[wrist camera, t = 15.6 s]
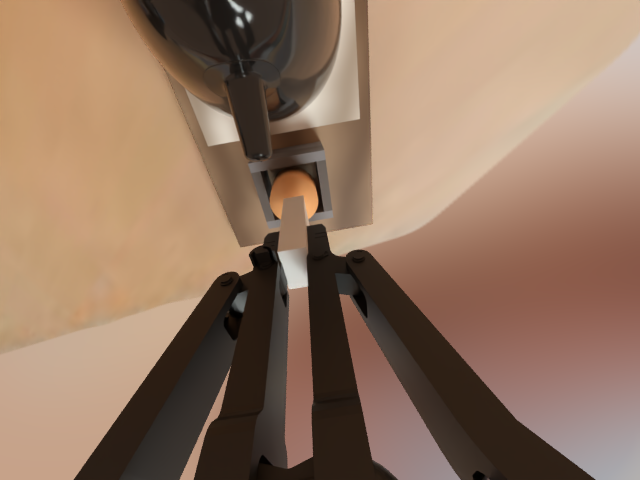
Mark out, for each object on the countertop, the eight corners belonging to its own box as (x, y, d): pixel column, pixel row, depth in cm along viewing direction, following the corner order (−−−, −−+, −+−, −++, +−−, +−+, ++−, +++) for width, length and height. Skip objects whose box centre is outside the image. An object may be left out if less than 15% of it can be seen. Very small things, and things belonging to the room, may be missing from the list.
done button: (278, 211, 23) (276, 226, 21) (267, 171, 21) (263, 183, 18) (318, 204, 23) (321, 218, 21) (311, 163, 21) (314, 174, 18)
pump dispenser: (221, 126, 21) (108, 196, 8) (160, -55, 15) (-607, -840, 2) (336, 108, 21) (403, 150, 8) (322, -80, 15) (482, -996, 2)
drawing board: (243, 238, 30) (234, 266, 25) (118, -71, 16) (46, -132, 11) (368, 216, 30) (381, 240, 25) (356, -115, 15) (382, -197, 11)
